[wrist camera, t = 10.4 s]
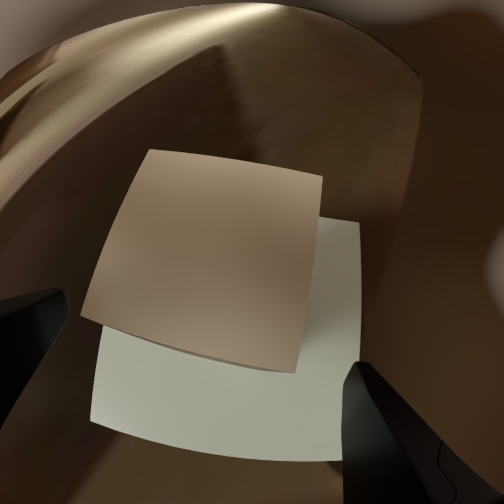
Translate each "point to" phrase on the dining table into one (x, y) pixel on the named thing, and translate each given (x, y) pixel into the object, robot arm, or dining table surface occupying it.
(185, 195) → the birch block
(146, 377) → the sage mat
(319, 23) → the dining table surface
